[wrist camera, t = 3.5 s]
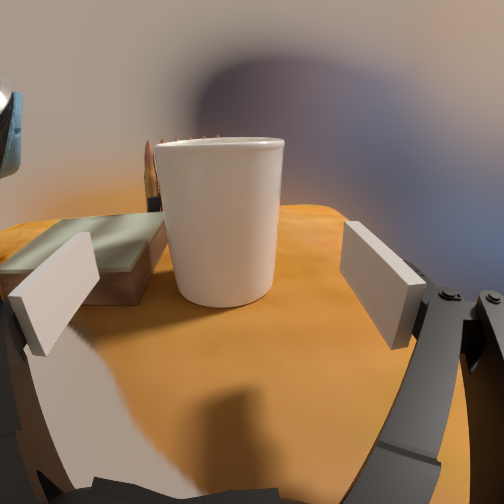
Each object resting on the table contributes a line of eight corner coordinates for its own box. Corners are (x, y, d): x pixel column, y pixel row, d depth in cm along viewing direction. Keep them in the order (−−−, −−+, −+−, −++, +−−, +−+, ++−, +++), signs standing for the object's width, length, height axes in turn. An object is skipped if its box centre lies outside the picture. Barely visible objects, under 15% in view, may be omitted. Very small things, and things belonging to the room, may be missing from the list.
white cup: (287, 262, 30) (289, 137, 26) (273, 321, 21) (275, 143, 17) (193, 255, 32) (184, 139, 27) (149, 305, 23) (127, 150, 19)
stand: (5, 300, 23) (-5, 269, 21) (66, 243, 36) (62, 219, 35) (137, 305, 23) (129, 267, 22) (170, 238, 37) (167, 211, 36)
